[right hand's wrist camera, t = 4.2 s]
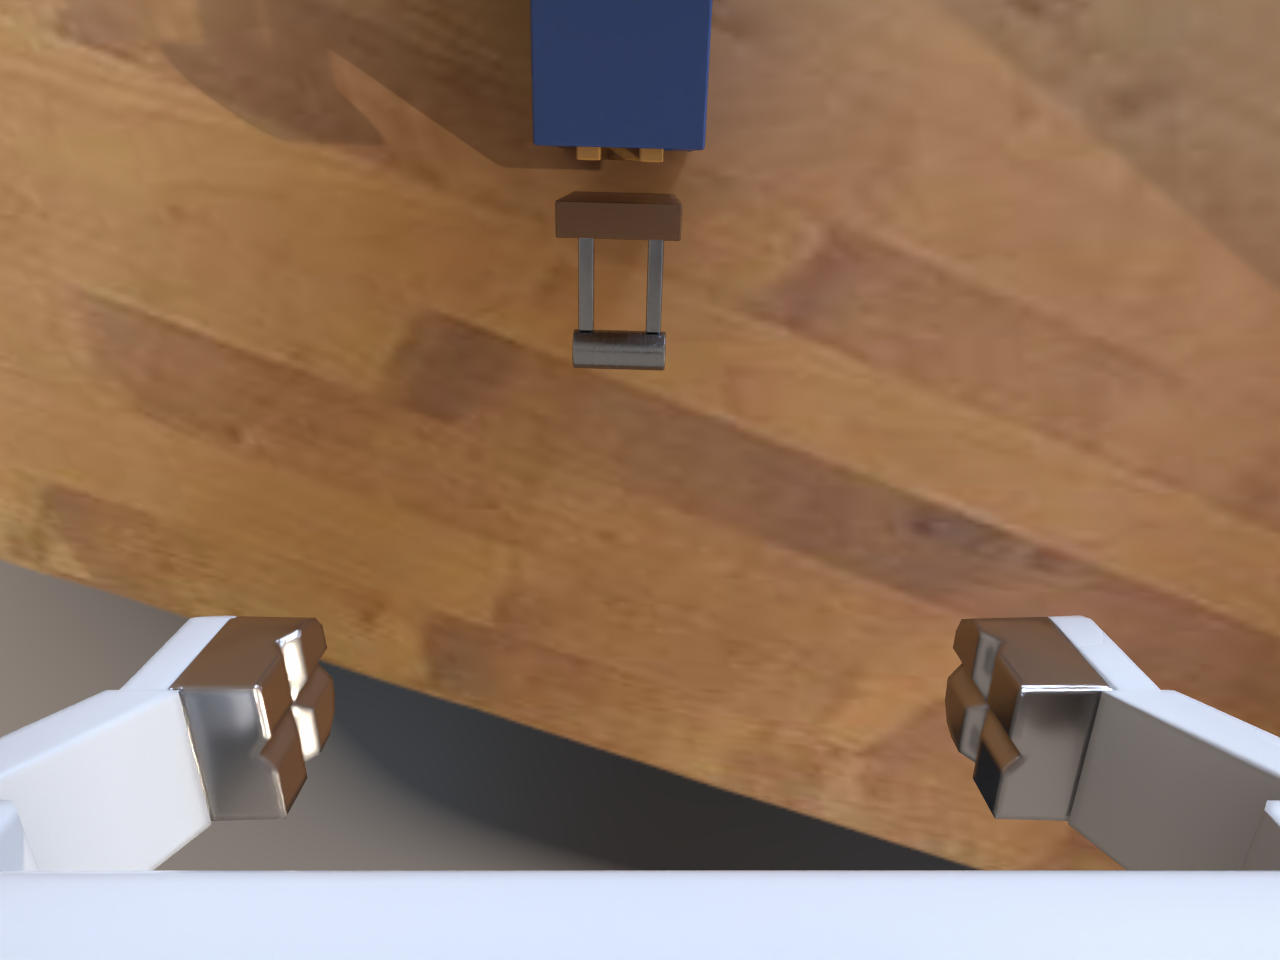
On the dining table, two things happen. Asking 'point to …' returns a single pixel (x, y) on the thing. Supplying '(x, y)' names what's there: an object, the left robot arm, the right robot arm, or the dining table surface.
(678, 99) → the cabinet
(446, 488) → the dining table surface
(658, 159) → the drawer
